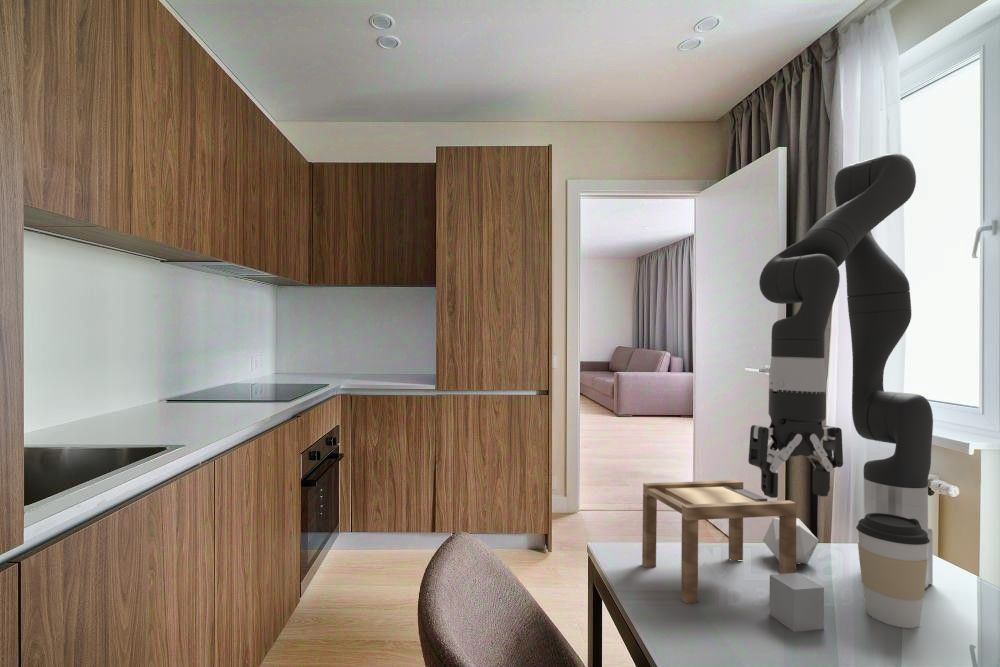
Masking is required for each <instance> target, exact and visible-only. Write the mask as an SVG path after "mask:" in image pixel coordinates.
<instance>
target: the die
mask: <svg viewBox="0 0 1000 667" xmlns="http://www.w3.org/2000/svg"><path fill="white" fill-rule="evenodd" d="M762 541H763V544H765V546H767V548H768V549H769V551H771V553H772V554H773V555H774V556H775V558H776V559H777V560H778V561H779V517H772V520H771V522H770V524H769V526H768V528H767V531H766V532H765V535H764V536H763V539H762ZM819 542H820V541H819V539H818V538H817V536H815V535H814V534H813V533H812V530H810V529H809V528H808V527H807V526H806V525H805V524H804V522H803V521H801V519H800V518H797V517H796V563H808V564H809V562H810V560H811V558H812V556H813V554H814V552H815V550H816V548H817V546H818V543H819Z"/></svg>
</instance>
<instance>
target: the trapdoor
mask: <svg viewBox="0 0 1000 667" xmlns="http://www.w3.org/2000/svg"><path fill="white" fill-rule="evenodd" d="M665 494H666V495H668V496H670V497H671V498H673V499H675V500H677V501H679V502H680V503H682V504H684V505H692V504H716V503H740V502H764V501H768V498H767V497H764V496H762V495H760V494H756V493H755V492H752V491H750V490H747V489H744V488H743V489H742V490H733V489H731V488H729V487H726V486H723V487H697V488H668V489H665Z"/></svg>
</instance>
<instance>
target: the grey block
mask: <svg viewBox="0 0 1000 667" xmlns="http://www.w3.org/2000/svg"><path fill="white" fill-rule="evenodd" d="M769 615H770V616H771V615H772V616H771V617H772V618H774V619H776V620H777V621H778V622H779V623H781V624H782V625H784V626H785V627H787V629H790V631H792V632H794V633H796V632H805V631H816V630H825V587H824V586H822V585H820V584H819V583H817V582H816V581H813V580H811V579H810V578H808V577H806V576H805V575H803V574H802V573H799V572H796V573H788V574H779V573H777V574H776V573H775V574H769Z"/></svg>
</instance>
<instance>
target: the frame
mask: <svg viewBox="0 0 1000 667" xmlns="http://www.w3.org/2000/svg"><path fill="white" fill-rule="evenodd" d="M723 486H726V487H729V488H731V489H733V490H742V489H744V482H743V481H741V480H738V479H736V480H708V481H705V480H704V481H680V482H676V481H674V482H647V483H646V482H645V483H642V488H643V489H642V544H641V545H642V549H641V550H642V556H641V557H642V558H641V560H642V561H641V565H642V566H643V567H645V568H647V569H648V568H657V524H658V523H657V520H658V519H657V516H658V514H657V513H658V512H657V511H658V510H657V509H658V508H657V507H658V506H657V505H658V501H659V502H661V503H663V504H664V505H666V506H668V507H670V508H671V509H673V510H674V511H676V512H678V513H680V514H681V555H680V556H681V557H680V558H681V561H680V562H681V563H680V564H681V567H680V568H681V569H680V570H681V571H680V572H681V575H680V576H681V578H680V581H681V582H680V600H682V601H683V602H684V603H685V604H693V603H694V604H695V603H698V601H699V600H698V599H699V598H698V596H699V594H698V592H699V589H698V588H699V587H698V586H699V584H698V583H699V576H698V575H699V521H700V520H701V521H702V520H726V519H728V560H730V559H731V560H733V561H738V560H743V561H744V518H747V519H748V518H763V517H766V518H767V517H768V518H769V517H778V518H779V560H778V574H788V573H797V564H796V518H797V502H794V501H792V500H789V499H788V500H770V501H768V500H767V501H764V502H740V503H716V504H692V505H685V504H683V503H681V502H679V501H677V500H676V499H674V498H672V497H670V496H668V495H666V494H665V489H668V488H697V487H723ZM731 560H730V561H731ZM733 561H732V562H733Z"/></svg>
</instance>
